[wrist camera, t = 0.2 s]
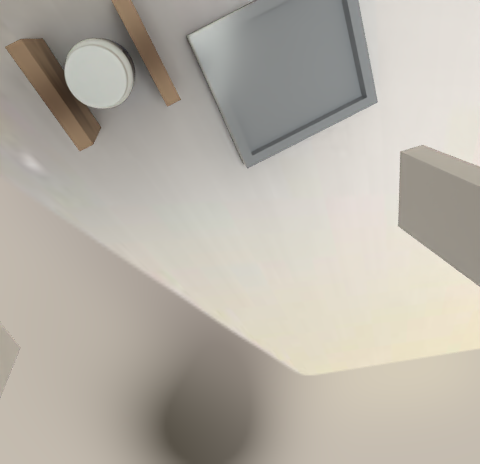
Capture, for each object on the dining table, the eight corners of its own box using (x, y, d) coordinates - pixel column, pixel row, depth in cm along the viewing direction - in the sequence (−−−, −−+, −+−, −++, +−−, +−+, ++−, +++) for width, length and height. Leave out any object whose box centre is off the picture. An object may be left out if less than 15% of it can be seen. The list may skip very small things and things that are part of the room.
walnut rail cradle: (29, 45, 29) (5, 47, 24) (127, -6, 29) (123, -15, 24) (89, 133, 33) (79, 151, 28) (175, 89, 33) (180, 99, 28)
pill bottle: (130, 103, 33) (127, 122, 25) (75, 89, 31) (54, 105, 24) (139, 48, 31) (138, 52, 24) (81, 29, 29) (60, 27, 22)
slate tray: (186, 35, 31) (188, 35, 29) (338, -42, 31) (349, -47, 29) (242, 162, 38) (247, 168, 36) (367, 99, 38) (377, 102, 36)
